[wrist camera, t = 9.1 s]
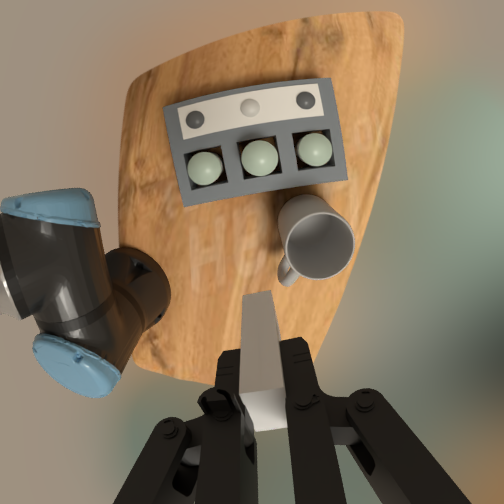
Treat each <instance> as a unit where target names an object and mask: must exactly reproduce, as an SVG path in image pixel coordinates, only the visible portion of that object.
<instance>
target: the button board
mask: <svg viewBox="0 0 504 504" xmlns="http://www.w3.org/2000/svg"><path fill="white" fill-rule="evenodd" d="M305 84H318V87H319V92H320V97H321V102H322V107H323V112H324V116H315V117H305V118H296V119H288V120H281V121H274V122H267V123H261V124H255V125H249V126H244V127H238V128H233V129H228V130H223V131H219V132H214V133H210V134H205V135H201V136H197V137H193V138H189V139H185V140H183V135H182V130H181V125H180V120H179V114H178V109H177V108H180V107H183V106H187V105H191V104H195V103H198V102H202V101H207V100H211V99H215V98H220V97H224V96H229V95H234V94H239V93H245V92H251V91H257V90H263V89H270V88H277V87H286V86H295V85H305ZM163 111H164V117H165V122H166V127H167V133H168V138H169V143H170V147H171V152H172V157H173V162H174V166H175V171H176V175H177V180H178V184H179V188H180V193H181V197H182V201H183V205H184V207H188V206H192V205H197V204H202V203H207V202H212V201H217V200H222V199H227V198H233V197H238V196H244V195H249V194H255V193H261V192H267V191H273V190H279V189H285V188H292V187H299V186H305V185H312V184H320V183H327V182H335V181H343V180H348V177H347V168H346V160H345V153H344V146H343V140H342V133H341V127H340V121H339V116H338V110H337V105H336V100H335V95H334V90H333V86H332V81H331V78H316V79H303V80H292V81H283V82H275V83H268V84H261V85H255V86H249V87H243V88H237V89H232V90H227V91H223V92H218V93H214V94H209V95H205V96H201V97H197V98H193V99H189V100H186V101H182V102H179V103H175V104H172V105H168V106H165V107H163ZM313 131H322V135H324V136H325V137H326V138H327V139H328V140H329V141H330V143H331V146H332V155H331V158H330V159H329V161H328V162H327V164H324V165H321V166H307V167H300V168H297V161H296V155H295V149H294V144H293V138H292V134H296V133H304V132H313ZM268 137H274V140H275V146H276V151H277V153H278V163H279V168H280V171H273V172H271V173H270V174H268V175H265V176H255V175H250V176H245V172H244V167H243V164H242V160H241V151H240V146H239V142H245V141H250V140H256V139H262V138H268ZM219 146H221V149H222V154H223V159H224V164H225V169H226V174H227V179H228V180H223V181H218V182H213V183H211V184H208V185H199V186H198V184H197V183H195V182H194V181H192V179H191V178H190V177H189V174H188V163H189V161H190V159H191V158H192V154H191V153H193V152H197V151H202V150H206V149H210V148H215V147H219Z"/></svg>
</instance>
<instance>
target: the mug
mask: <svg viewBox="0 0 504 504" xmlns="http://www.w3.org/2000/svg"><path fill="white" fill-rule="evenodd" d="M278 230H279V233H280V236H281V241H282V245H283V249H284V253H285V255H284V257H283V258H282V260H281V262H280V264H279V266H278V273H277V274H278V280H279V282H280V283H281V284H282V285H283V286H286V287H289V286H291V285H292V284H293V283H294V282H295V281H296V280H297V278H298V277H299V276H302V277H304V278H307V279H312V280H323V279H327V278H331V277H333V276H335V275H337V274H338V273H340V272H341V271H342V270H343V269H344V268H345V267H346V266H347V265H348V263H349V262H350V260H351V258H352V256H353V253H354V249H355V238H354V233H353V231H352V228H351V227H350V225H349V224H348V222H347V221H346V220H345V219H344V218H343V217H342V216H341V215H340V214H338V213H337V212H336V211H335V210H334V209H333V208H332V207H330V206H329V205H328V204H327V203H326V202H325V201H324V200H323V199H321V198H319V197H317V196H314V195H309V194H303V195H298V196H296V197H293V198H292V199H290V200H289V201H287V202H286V203H285V204H284V206H283V207H282V209H281V211H280V213H279V216H278ZM289 266H290V269H289V271H288V268H289Z"/></svg>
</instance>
